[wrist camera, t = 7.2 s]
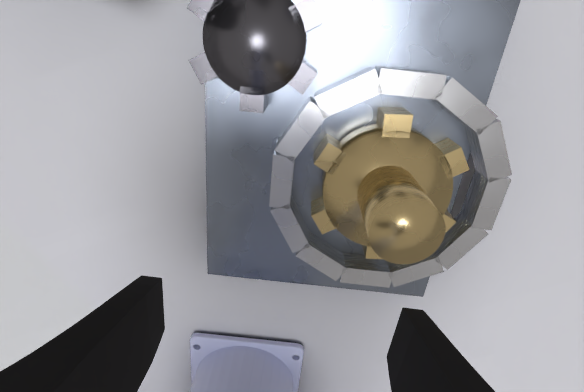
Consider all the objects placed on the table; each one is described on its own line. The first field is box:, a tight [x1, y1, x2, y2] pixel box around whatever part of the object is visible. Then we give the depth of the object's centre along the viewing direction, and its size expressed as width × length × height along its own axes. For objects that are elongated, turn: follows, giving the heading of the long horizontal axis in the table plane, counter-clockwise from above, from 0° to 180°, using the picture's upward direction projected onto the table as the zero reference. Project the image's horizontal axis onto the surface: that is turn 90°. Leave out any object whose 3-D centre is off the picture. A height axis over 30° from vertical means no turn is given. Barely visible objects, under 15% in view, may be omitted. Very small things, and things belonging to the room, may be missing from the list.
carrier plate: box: [187, 0, 520, 297], centre depth 17 cm, size 16×15×3 cm
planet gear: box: [311, 107, 469, 264], centre depth 15 cm, size 7×7×5 cm
